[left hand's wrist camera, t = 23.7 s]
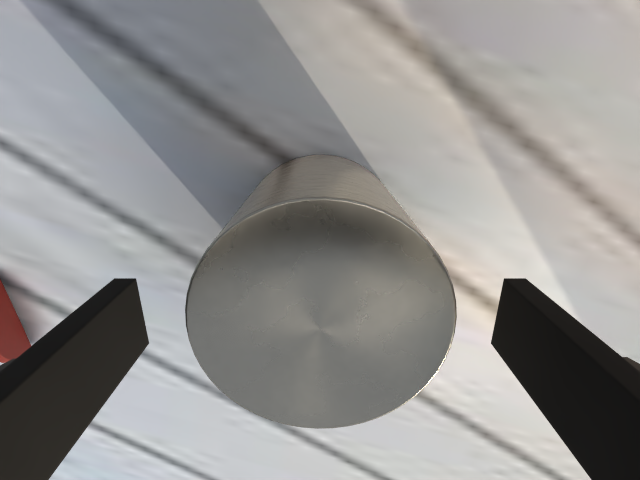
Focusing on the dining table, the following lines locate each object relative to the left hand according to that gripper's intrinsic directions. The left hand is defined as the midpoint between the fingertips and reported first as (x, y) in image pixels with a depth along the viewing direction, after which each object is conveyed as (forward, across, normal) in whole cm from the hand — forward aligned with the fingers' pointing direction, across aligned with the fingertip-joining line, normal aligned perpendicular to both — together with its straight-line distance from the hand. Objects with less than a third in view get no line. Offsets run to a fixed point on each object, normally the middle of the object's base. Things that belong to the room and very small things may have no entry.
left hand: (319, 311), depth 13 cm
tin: (+8, 0, 0) cm, 8 cm away
